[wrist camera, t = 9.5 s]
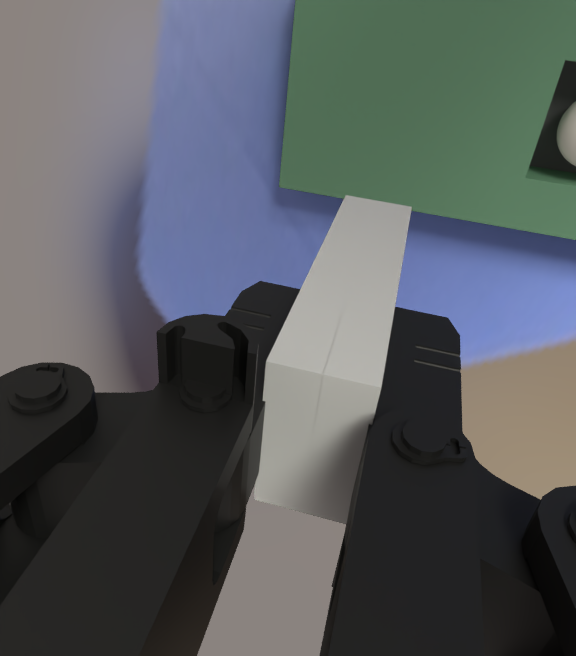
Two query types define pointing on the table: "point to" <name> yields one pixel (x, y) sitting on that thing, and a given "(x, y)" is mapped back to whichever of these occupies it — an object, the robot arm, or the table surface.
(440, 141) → the green
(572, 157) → the ball
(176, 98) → the table surface
